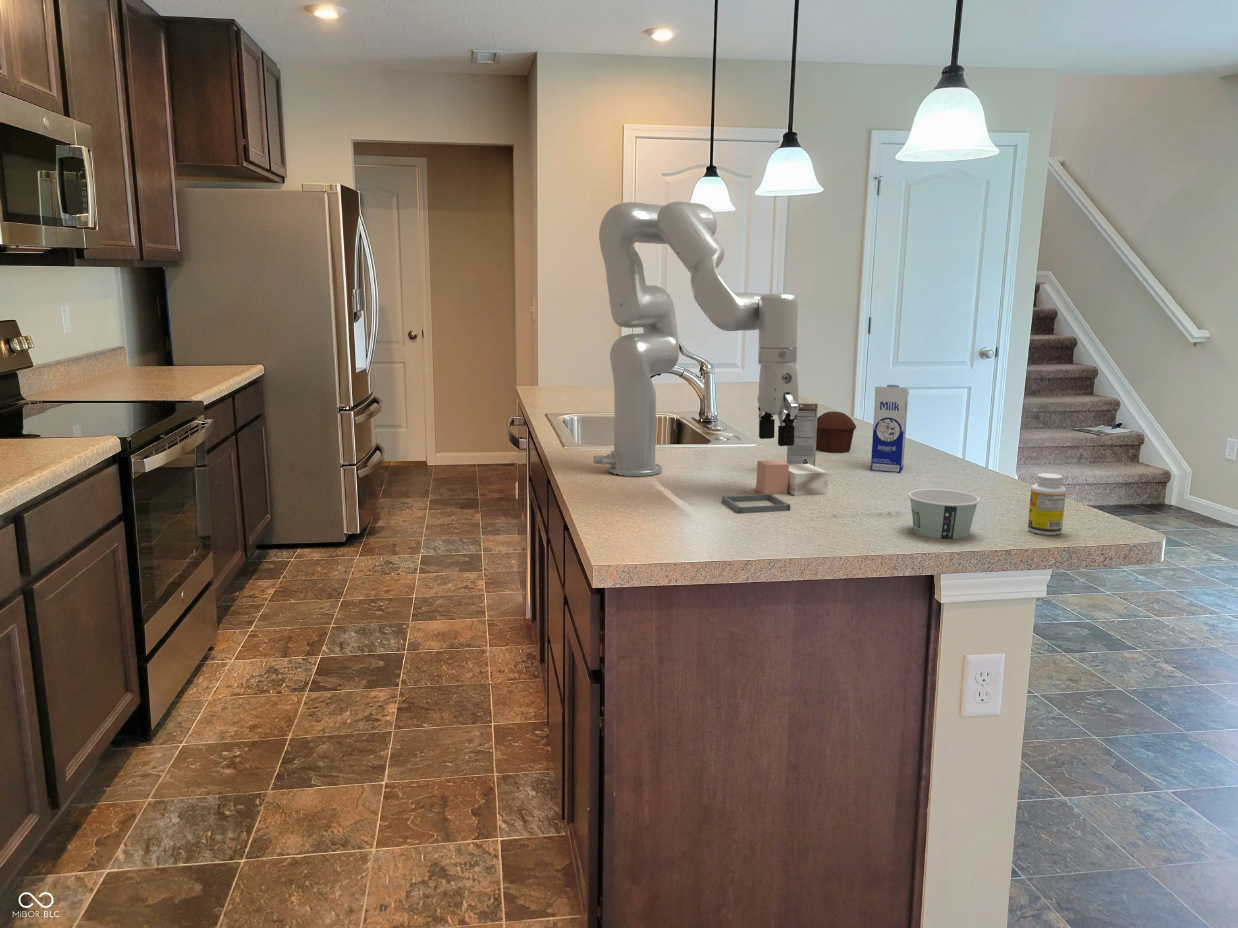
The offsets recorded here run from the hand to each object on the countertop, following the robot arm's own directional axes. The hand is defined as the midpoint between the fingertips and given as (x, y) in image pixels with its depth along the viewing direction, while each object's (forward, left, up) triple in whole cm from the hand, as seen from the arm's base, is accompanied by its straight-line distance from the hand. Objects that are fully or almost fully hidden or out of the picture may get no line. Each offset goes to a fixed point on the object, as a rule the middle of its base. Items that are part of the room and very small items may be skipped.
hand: (776, 441), depth 183 cm
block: (0, +1, -10) cm, 10 cm away
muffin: (+37, +48, -12) cm, 61 cm away
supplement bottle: (+37, -34, -12) cm, 52 cm away
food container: (+19, -30, -12) cm, 38 cm away
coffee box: (+15, +20, -12) cm, 27 cm away
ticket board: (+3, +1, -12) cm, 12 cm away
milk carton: (+38, +22, -12) cm, 45 cm away
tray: (-8, -10, -12) cm, 18 cm away
